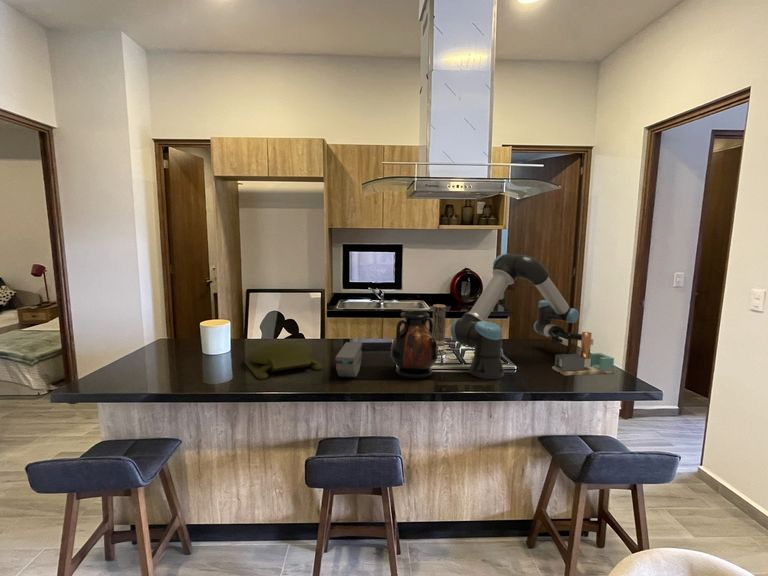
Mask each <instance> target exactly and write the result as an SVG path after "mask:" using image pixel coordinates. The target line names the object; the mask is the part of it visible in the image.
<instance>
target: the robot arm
mask: <svg viewBox="0 0 768 576" xmlns="http://www.w3.org/2000/svg"><path fill="white" fill-rule="evenodd" d="M492 265H493V266H492V275H493V276H492V277H491V279H490V280H489V282H488V284H486V286H485V288H484V290H483V291H482V292H481V294H480V296H479V297H478V298H477V300H476V301H475V302H474V305H473V306H472V308H471V309H470V311H469V312H465V313H463V315H462V317H461V318H455V320H453V322H452V323H451V326H450V335H451V337H452V340H453V341H455V342H456V343H459V344H460V345H465V346H467V347H470V348H473V350H474V352H473V358H472V361H471V363H470V366H469V374H470V375H472V376H473V377H475V376H476V378H480V379H484V380H496V379H497V380H498V379H500V378H503V377H504V374H505V373H504V372H505V371H504V367H503V364H502V359H501V353H502V351H501V348H502V338H503V336H502V327H501V326H500V324H499V325H498V324H497V323H495V322H492V321H486V320H487V319H488V317H489V316H490V314H491V313H492V311H493V310H494V308H495V307H496V304H497V303H498V302H499V300H500V299H501V297H502V295H503V294H504V293H505V291H506V289H507V288H508V286H509V285H513V284H514V283H515V281H516V280H517V279H523V280H527V281H528V282H529V283H530V285H533V286H535V288H536V289H537V290H538V291H539V293H540V294H541V296H542V298H543V300H539V302H538V308H537V309H538V310H537V320H536V321H535V322H534V324H533V330H534V331H535V332H536V333H538V334H539V335H542V336H544V337H546V338H549V339H550V341H551V342H552V343H555V344H558V343H560V344H562V345H565V346H566V347H567V346H569V341H571V340H576V341H581V340H582V333H578V332H574V331H573V332H572V331H570V332H567V331H566V330H564V328H563V327H561V326H558V325H557V324H553V320H555V321H561V322H564V323H570V324H571V323H572V324H575V323H576V322H577V321H578V320H579V316H580V313H579V310H577V309H576V308H574V307H573V308H572V307H570V306H569V304H568V302H567V301H566V300H565V298H564V296H563V295H562V294H561V292H560V291H559V290H558V288H557V287H556V285H555V284H554V282H553V281H552V280H551V278H550V277H549V275H550V273H549V272H548V270H547V269H546V268H545V266H544V265H543V264H542V263H541V262H540V261H539V260H537V259H536V258H534V257H532V256H530V255H528V254H512V253H503V254H499V255H498V256H497V257H496V258H494V260H493V263H492ZM592 345H594V339H593V338H591V346H592Z"/></svg>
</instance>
